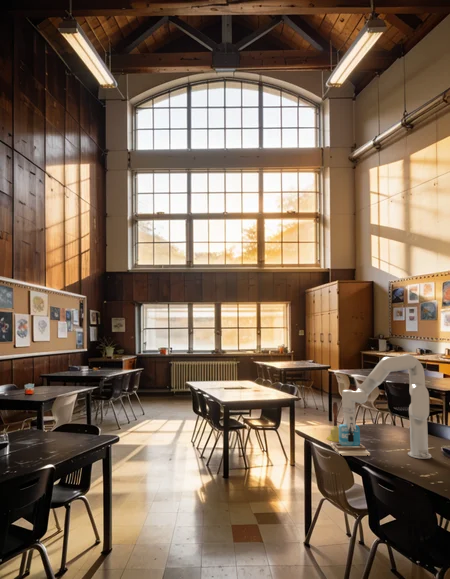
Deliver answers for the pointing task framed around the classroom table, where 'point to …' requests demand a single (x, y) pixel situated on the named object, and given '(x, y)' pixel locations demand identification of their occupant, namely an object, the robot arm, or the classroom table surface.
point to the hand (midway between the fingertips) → (349, 440)
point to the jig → (350, 450)
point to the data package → (344, 436)
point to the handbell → (335, 430)
